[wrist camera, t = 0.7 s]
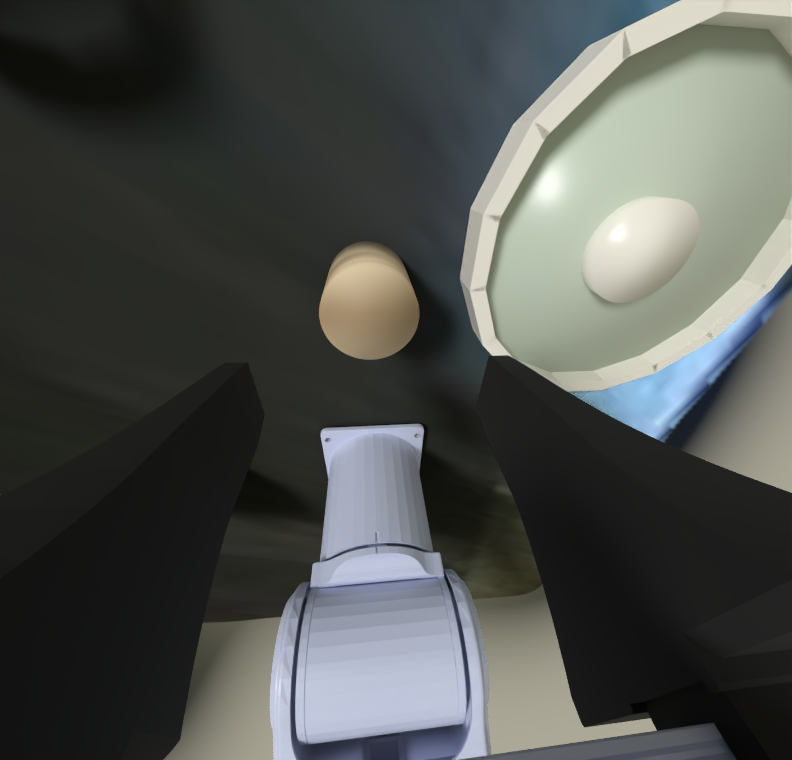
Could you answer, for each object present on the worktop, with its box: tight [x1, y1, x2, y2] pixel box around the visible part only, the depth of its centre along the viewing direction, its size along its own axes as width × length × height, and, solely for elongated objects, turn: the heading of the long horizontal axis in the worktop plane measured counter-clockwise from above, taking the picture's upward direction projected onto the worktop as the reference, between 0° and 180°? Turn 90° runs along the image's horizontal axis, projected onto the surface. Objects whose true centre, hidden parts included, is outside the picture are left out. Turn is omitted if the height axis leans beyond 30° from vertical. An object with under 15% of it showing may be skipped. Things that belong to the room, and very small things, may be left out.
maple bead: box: [319, 241, 419, 360], centre depth 15 cm, size 4×4×4 cm
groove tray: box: [460, 0, 792, 392], centre depth 16 cm, size 18×18×2 cm
